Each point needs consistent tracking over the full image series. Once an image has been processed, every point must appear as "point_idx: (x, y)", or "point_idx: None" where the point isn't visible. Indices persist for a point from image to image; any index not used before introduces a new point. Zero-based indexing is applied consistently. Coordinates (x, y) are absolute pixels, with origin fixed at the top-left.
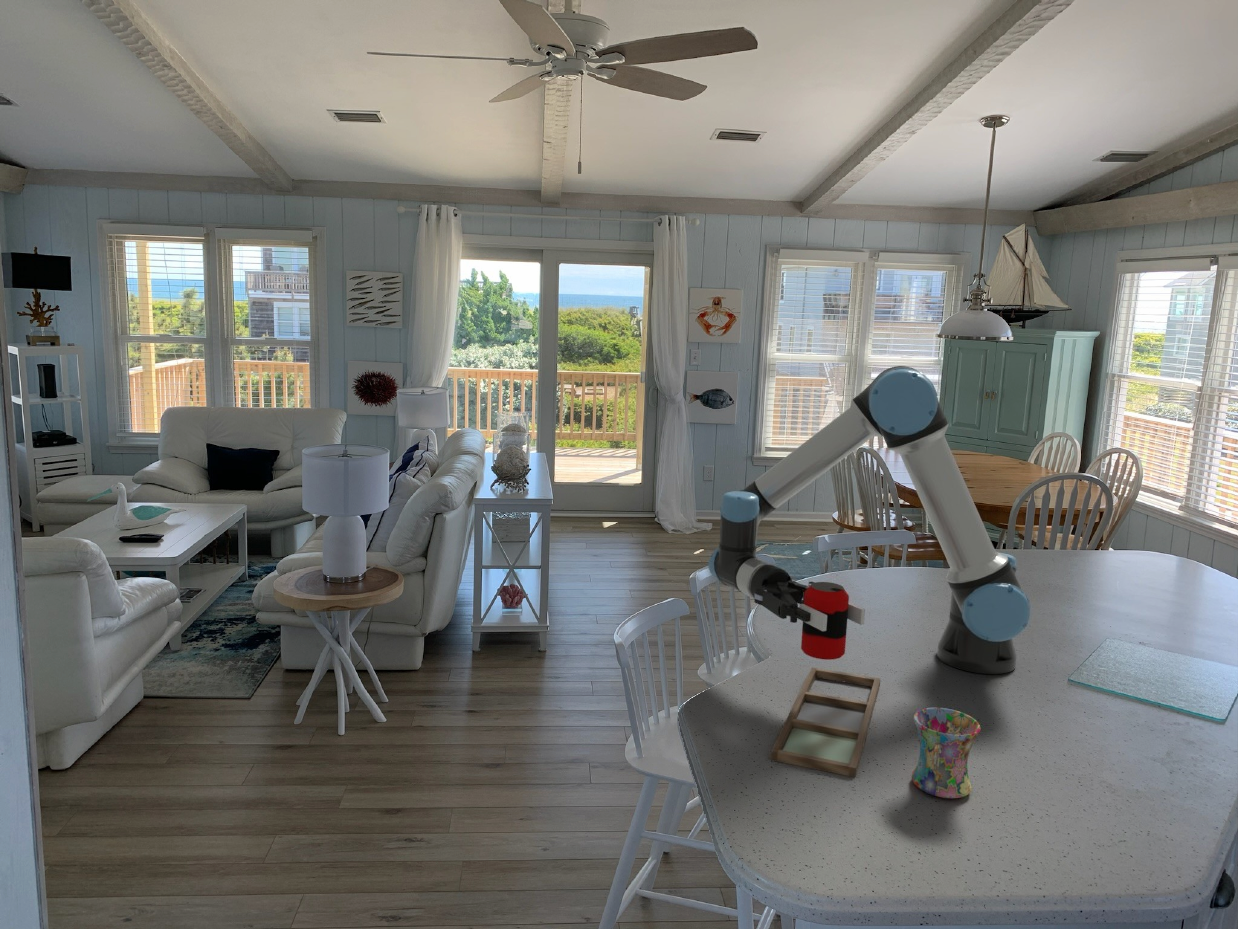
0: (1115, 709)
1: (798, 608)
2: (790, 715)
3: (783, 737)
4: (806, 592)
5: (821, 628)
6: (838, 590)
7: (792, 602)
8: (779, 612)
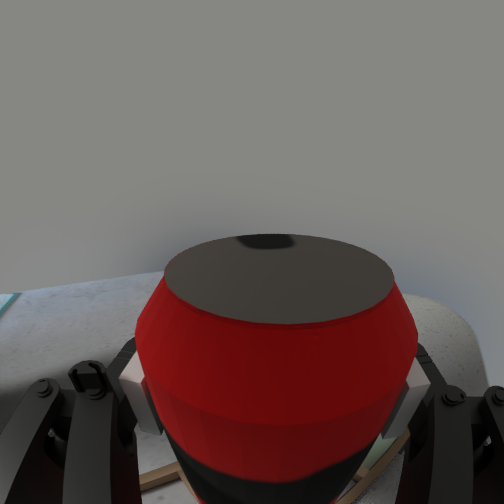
0: (16, 322)
1: (429, 391)
2: (362, 488)
3: (406, 428)
4: (412, 331)
5: None
6: (265, 236)
7: (456, 423)
8: (480, 465)
